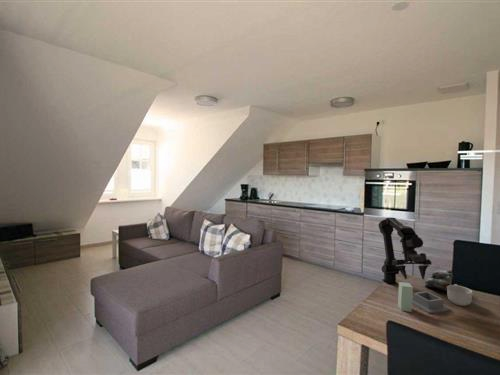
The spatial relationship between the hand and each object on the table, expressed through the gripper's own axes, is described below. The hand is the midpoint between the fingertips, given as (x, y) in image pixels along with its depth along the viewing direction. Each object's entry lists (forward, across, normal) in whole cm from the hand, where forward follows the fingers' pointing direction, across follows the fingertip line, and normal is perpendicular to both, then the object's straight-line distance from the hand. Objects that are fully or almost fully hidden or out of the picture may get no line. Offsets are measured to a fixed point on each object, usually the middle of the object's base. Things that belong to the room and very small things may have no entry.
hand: (414, 279), depth 142 cm
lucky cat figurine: (+6, +25, +22) cm, 34 cm away
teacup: (+12, +26, +8) cm, 29 cm away
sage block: (+14, -8, 0) cm, 17 cm away
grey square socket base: (+13, +6, +3) cm, 15 cm away
